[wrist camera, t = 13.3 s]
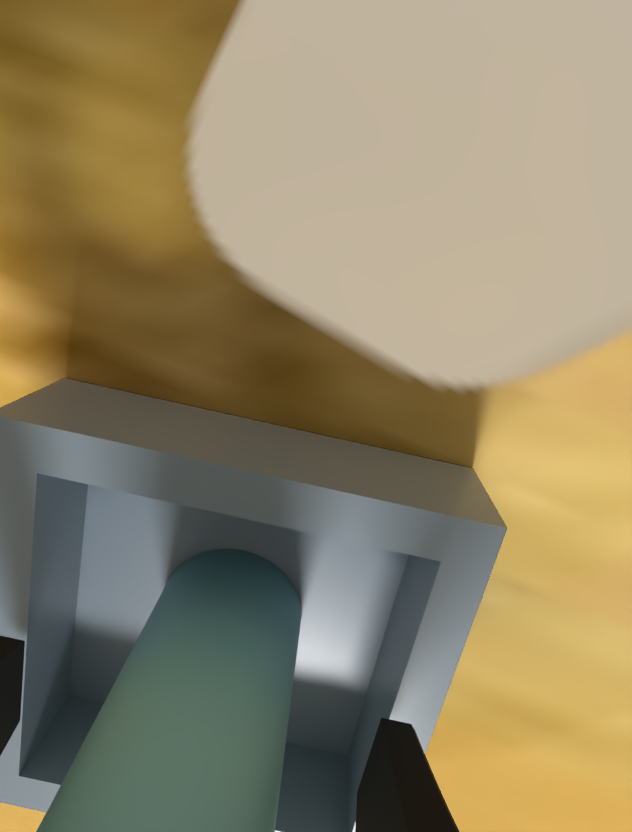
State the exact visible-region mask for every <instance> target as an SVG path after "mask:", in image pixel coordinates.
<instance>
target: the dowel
mask: <svg viewBox="0 0 632 832" xmlns="http://www.w3.org/2000/svg"><path fill="white" fill-rule="evenodd" d="M300 624H301V604H300V599H299V596H298V593H297V591H296V589H295V587H294V585H293V584H292V582H291V581H290V579H289V578H288V577H287V576H286V575H285V574H284V573H283V572H282V571H281V570H280V569H279V568H278V567H277V566H275V565H274V564H272V563H271V562H269V561H268V560H266V559H264V558H262V557H260V556H257V555H255V554H252V553H248V552H245V551H239V550H230V549H221V550H212V551H207V552H204V553H201V554H198V555H196V556H194V557H192V558H190V559H188V560H187V561H185V562H184V563H182V564H181V565H180V566H179V567H178V568H177V569H176V570H175V571H174V573H173V574H172V575H171V577H170V579H169V580H168V582H167V584H166V586H165V588H164V590H163V592H162V593H161V595H160V597H159V599H158V601H157V603H156V605H155V607H154V609H153V611H152V613H151V614H150V616H149V618H148V620H147V622H146V624H145V626H144V628H143V630H142V632H141V633H140V635H139V637H138V639H137V641H136V643H135V645H134V647H133V649H132V651H131V653H130V654H129V656H128V658H127V660H126V662H125V664H124V666H123V668H122V670H121V672H120V673H119V675H118V677H117V679H116V681H115V683H114V685H113V687H112V689H111V691H110V693H109V694H108V696H107V698H106V700H105V702H104V704H103V706H102V708H101V710H100V712H99V713H98V715H97V717H96V719H95V721H94V723H93V725H92V727H91V729H90V731H89V733H88V734H87V736H86V738H85V740H84V742H83V744H82V746H81V748H80V750H79V752H78V753H77V755H76V757H75V759H74V761H73V763H72V765H71V767H70V769H69V771H68V773H67V774H66V776H65V778H64V780H63V782H62V784H61V786H60V788H59V790H58V792H57V794H56V795H55V797H54V799H53V801H52V803H51V805H50V807H49V809H48V811H47V813H46V814H45V816H44V818H43V820H42V822H41V824H40V826H39V828H38V830H37V832H275V826H276V818H277V810H278V802H279V794H280V786H281V778H282V770H283V762H284V754H285V745H286V737H287V729H288V721H289V713H290V705H291V697H292V689H293V681H294V673H295V665H296V657H297V649H298V641H299V633H300Z"/></svg>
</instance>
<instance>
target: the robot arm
mask: <svg viewBox="0 0 632 832" xmlns="http://www.w3.org/2000/svg"><path fill="white" fill-rule="evenodd" d="M24 647H25V641H23V640H19V639H14V638H9V637H5V636H0V756H1V754H2V752H3V750H4V749H5V747H6V745H7V743H8V741H9V740H10V738H11V736H12V734H13V732H14V731H15V729H16V727H17V725H18V723H19V721H20V715H21V698H22V681H23V664H24ZM355 832H459V830H458V828H457V826H456V824H455V822H454V820H453V818H452V816H451V813H450V811H449V809H448V807H447V805H446V802H445V800H444V798H443V796H442V794H441V791H440V789H439V787H438V784H437V782H436V780H435V778H434V775H433V773H432V771H431V768H430V766H429V763H428V761H427V759H426V756H425V754H424V751H423V749H422V746H421V744H420V741H419V739H418V736H417V734H416V731H415V729H414V728H413V726H412V724H409V723H404V722H399V721H395V720H390V719H386V718H381V720H380V723H379V726H378V729H377V732H376V735H375V738H374V741H373V745H372V748H371V751H370V754H369V757H368V760H367V763H366V766H365V769H364V772H363V776H362V779H361V782H360V785H359V788H358V791H357V806H356V829H355Z"/></svg>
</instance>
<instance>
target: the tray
mask: <svg viewBox="0 0 632 832" xmlns="http://www.w3.org/2000/svg"><path fill="white" fill-rule="evenodd" d="M506 530H507V527H506V525H505V523H504V521H503V520H502V518H501V516H500V515H499V513H498V511H497V509H496V508H495V506H494V504H493V502H492V501H491V499H490V497H489V495H488V494H487V492H486V490H485V488H484V487H483V485H482V483H481V481H480V480H479V478H478V476H477V474H476V473H475V471H474V469H473V468H469V467H464V466H460V465H455V464H451V463H446V462H442V461H437V460H433V459H428V458H424V457H419V456H415V455H410V454H406V453H401V452H396V451H392V450H387V449H383V448H378V447H374V446H369V445H365V444H360V443H356V442H351V441H347V440H342V439H338V438H333V437H329V436H324V435H320V434H315V433H311V432H306V431H302V430H297V429H293V428H288V427H284V426H279V425H274V424H270V423H265V422H261V421H256V420H252V419H247V418H243V417H238V416H234V415H229V414H225V413H220V412H216V411H211V410H207V409H202V408H198V407H193V406H189V405H184V404H180V403H175V402H171V401H166V400H162V399H157V398H152V397H148V396H143V395H139V394H134V393H130V392H125V391H121V390H116V389H112V388H107V387H103V386H98V385H94V384H89V383H85V382H80V381H76V380H71V379H67V378H64V379H62V380H59V381H57V382H55V383H53V384H51V385H48V386H46V387H44V388H42V389H40V390H38V391H35V392H33V393H31V394H29V395H27V396H25V397H22V398H20V399H18V400H16V401H14V402H12V403H9V404H7V405H5V406H3V407H1V408H0V636H5V637H9V638H14V639H19V640H23V641H25V647H24V664H23V681H22V698H21V715H20V721H19V723H18V725H17V727H16V729H15V731H14V732H13V734H12V736H11V738H10V740H9V741H8V743H7V745H6V747H5V749H4V750H3V752H2V754H1V756H0V803H5V804H10V805H14V806H19V807H24V808H28V809H33V810H38V811H43V812H47V811H48V809H49V807H50V805H51V803H52V801H53V799H54V797H55V795H56V794H57V792H58V790H59V788H60V786H61V784H62V782H63V780H64V778H65V776H66V774H67V773H68V771H69V769H70V767H71V765H72V763H73V761H74V759H75V757H76V755H77V753H78V752H79V750H80V748H81V746H82V744H83V742H84V740H85V738H86V736H87V734H88V733H89V731H90V729H91V727H92V725H93V723H94V721H95V719H96V717H97V715H98V713H99V712H100V710H101V708H102V706H103V704H104V702H105V700H106V698H107V696H108V694H109V693H110V691H111V689H112V687H113V685H114V683H115V681H116V679H117V677H118V675H119V673H120V672H121V670H122V668H123V666H124V664H125V662H126V660H127V658H128V656H129V654H130V653H131V651H132V649H133V647H134V645H135V643H136V641H137V639H138V637H139V635H140V633H141V632H142V630H143V628H144V626H145V624H146V622H147V620H148V618H149V616H150V614H151V613H152V611H153V609H154V607H155V605H156V603H157V601H158V599H159V597H160V595H161V593H162V592H163V590H164V588H165V586H166V584H167V582H168V580H169V579H170V577H171V575H172V574H173V573H174V571H175V570H176V569H177V568H178V567H179V566H180V565H181V564H182V563H184V562H185V561H187V560H188V559H190V558H192V557H194V556H196V555H198V554H201V553H204V552H207V551H212V550H221V549H230V550H239V551H245V552H248V553H252V554H255V555H257V556H260V557H262V558H264V559H266V560H268V561H269V562H271V563H272V564H274V565H275V566H277V567H278V568H279V569H280V570H281V571H282V572H283V573H284V574H285V575H286V576H287V577H288V578H289V579H290V581H291V582H292V584H293V585H294V587H295V589H296V591H297V593H298V596H299V599H300V604H301V624H300V633H299V641H298V649H297V657H296V665H295V673H294V681H293V689H292V697H291V705H290V713H289V721H288V729H287V737H286V745H285V754H284V762H283V770H282V778H281V786H280V794H279V802H278V810H277V818H276V826H275V832H355V829H356V806H357V791H358V788H359V785H360V782H361V779H362V776H363V772H364V769H365V766H366V763H367V760H368V757H369V754H370V751H371V748H372V745H373V741H374V738H375V735H376V732H377V729H378V726H379V723H380V720H381V718H386V719H390V720H395V721H399V722H404V723H409V724H412V726H413V728H414V729H415V731H416V734H417V736H418V739H419V741H420V744H421V746H422V749H423V751H424V754H425V752H426V750H427V747H428V744H429V741H430V739H431V736H432V733H433V730H434V728H435V725H436V722H437V719H438V717H439V714H440V711H441V708H442V706H443V703H444V700H445V698H446V695H447V692H448V689H449V687H450V684H451V681H452V678H453V676H454V673H455V670H456V667H457V665H458V662H459V659H460V656H461V654H462V651H463V648H464V645H465V643H466V640H467V637H468V634H469V632H470V629H471V626H472V623H473V621H474V618H475V615H476V612H477V610H478V607H479V604H480V602H481V599H482V596H483V593H484V591H485V588H486V585H487V582H488V580H489V577H490V574H491V571H492V569H493V566H494V563H495V560H496V558H497V555H498V552H499V549H500V547H501V544H502V541H503V538H504V536H505V533H506Z"/></svg>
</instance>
